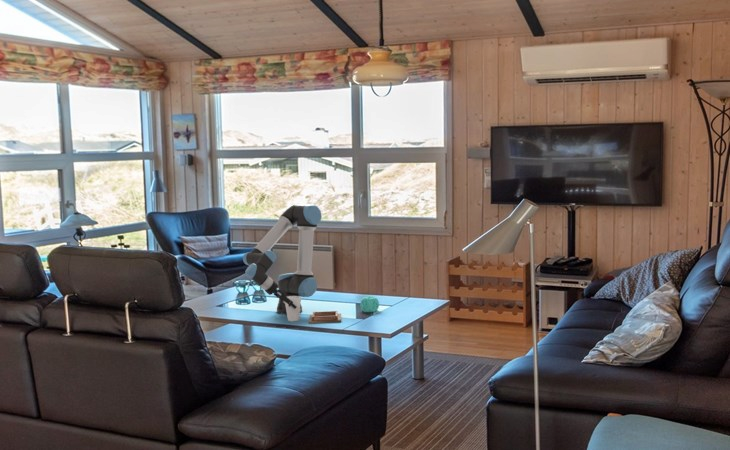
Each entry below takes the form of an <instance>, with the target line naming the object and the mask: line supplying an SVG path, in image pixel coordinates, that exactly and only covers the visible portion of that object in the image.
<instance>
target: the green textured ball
mask: <svg viewBox="0 0 730 450" xmlns="http://www.w3.org/2000/svg"><path fill="white" fill-rule="evenodd" d="M379 307H380V302H379V299H378V298H377V297H375V296H363V297H362V298H361V300H360V308H361V311H363V312H364V313H374V312H375V313H376V312H377V311H378V309H379Z"/></svg>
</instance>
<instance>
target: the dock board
mask: <svg viewBox="0 0 730 450" xmlns="http://www.w3.org/2000/svg"><path fill="white" fill-rule="evenodd" d="M338 312H339V311H338V310H329V311H328V310H326V311H325V310H323V311H312V314H309V317H308V324H309V325H310V324H329V323H330V324H331V323H335V324H336V323H342V313H338Z"/></svg>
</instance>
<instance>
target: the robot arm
mask: <svg viewBox="0 0 730 450" xmlns="http://www.w3.org/2000/svg"><path fill="white" fill-rule="evenodd" d="M321 220H322V211H321V209H320V208H319V206H317V205H316V204H311V203H295V204H292V205H291V206H289V207H288V208H286V210H285V211H283V213H282V214H281V215H280V216H279V218H278V221H277V222H276V223H275V224H274V225H273V227H272V228H271V229H270V230H269V231H268V232H267V233H266V234H265V235H264V237H263V238H261V240H260V241H259V242H258V243H257V244H256V246H255V247H254V248H253V249H252V250H251V251H248V252H246V253H244V254H243V255H242V261H243V263H244V264H245V266H246V265H247V268H246V269H245V271H244V272H245V275H246V276H247V277H248V278H249V279H250V280H252V281H253V282H254V283H255V284H256V285H257V286H258V287H259V289H262V290H263V291H265V293H267V294H268V295H269V296H270V295H273V296H274V297H276V298H278V303H277V306H276V313H277V314H282V315H284V314H285V315H287V312H286V306H285V302H286V303H287V304H288V305H289V307H291V308H292V309H294V310H295V311H296V312H297V313H299V312H300V313H301V312H302V311H303V306H302V303H300V308H299V307H298V306H297V305H295V304H294V303H293V301H291V300H290V299H289V298H287V297H288V296H300V297H301V298H309V297H313V295H314V294H315V293H316V291H317V289H318V282H317V280H316V279H315V278H314V277H315V275H314V273H313V271H312V266H313V253H314V252H313V251H314V235H315V230H316V229H317V228H318V224H319V223H320V222H321ZM295 225H296V227H297V229H298V243H297V244H298V247H297V264H296V271H294V272H289V273H282V274H279V275H278V279H277V280H278V281H277V282H278V283H277V282H276V281H274V279H273V278H271V277H270V275H269V274H267V272H268V270H269V269H270V268H271V267H272V265H273V264H274V262H275V261H276V259H277V255H276V254H275V252H273V250H271V249H272V248H273V247H274V246H275V245H276V244H277V243H278V241H279V240H280V239H281V238H282V237H283V236H284V235H285V233H287V231H288V230H289V229H292V228H293V227H294V226H295ZM284 301H285V302H284Z"/></svg>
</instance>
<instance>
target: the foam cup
mask: <svg viewBox="0 0 730 450" xmlns="http://www.w3.org/2000/svg"><path fill="white" fill-rule="evenodd" d="M287 298H289V299H290V300H291V301H293V303H294V304H295V305H297V306H298V307H299V308H300V303H301V302H302V297H301V296H288V297H287ZM284 302H285V301H284ZM301 304H302V303H301ZM285 306H286V312H287V314H286V316H287V317H286V318H287V321H288V322H298V321H299V320H300V313H301V312H299V313H297V312H296V311H295V310H294V309H292V308H291V307H289V305H288V304H287V303H286V302H285Z"/></svg>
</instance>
